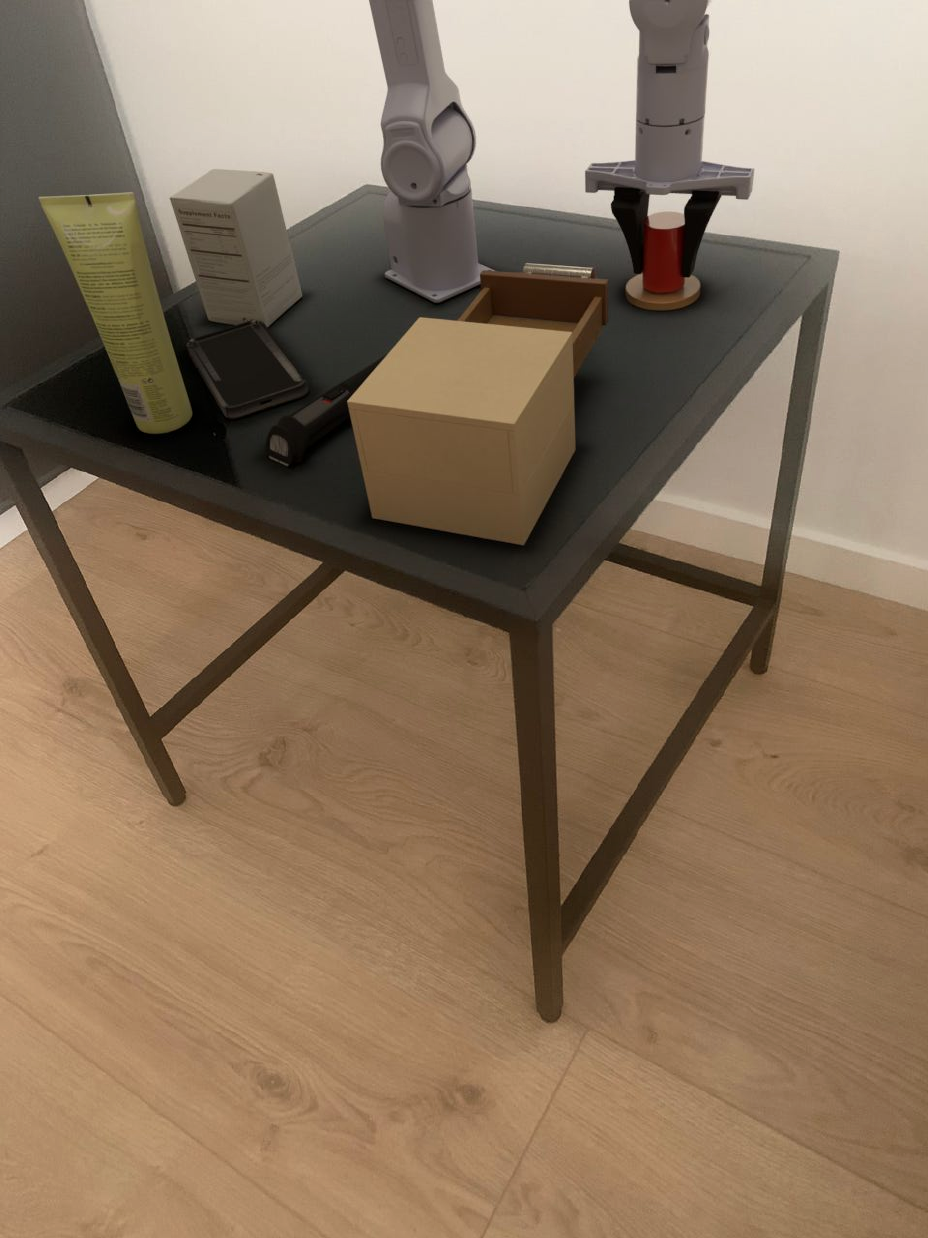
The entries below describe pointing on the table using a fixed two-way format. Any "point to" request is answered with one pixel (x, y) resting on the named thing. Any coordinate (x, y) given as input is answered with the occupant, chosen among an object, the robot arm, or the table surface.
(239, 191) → the white packaging box
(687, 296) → the cork coaster
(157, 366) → the tube
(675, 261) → the red upright cylinder
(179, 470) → the table surface
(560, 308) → the drawer
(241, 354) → the phone
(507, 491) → the little tan box
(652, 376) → the table surface
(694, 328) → the table surface
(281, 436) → the electric trimmer
